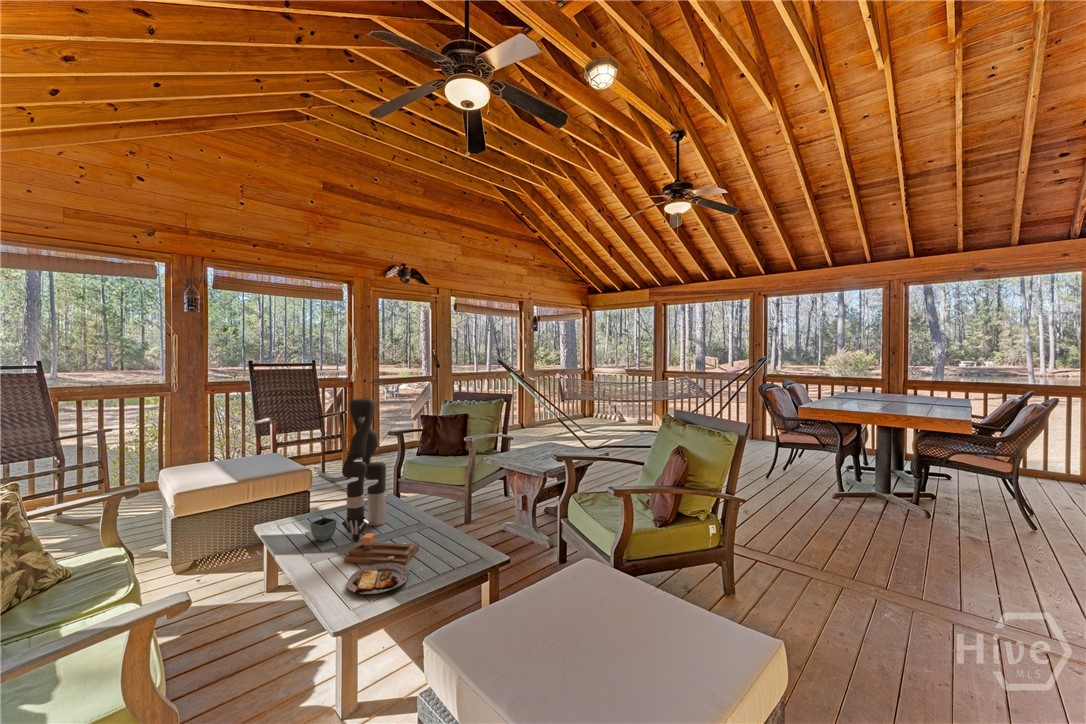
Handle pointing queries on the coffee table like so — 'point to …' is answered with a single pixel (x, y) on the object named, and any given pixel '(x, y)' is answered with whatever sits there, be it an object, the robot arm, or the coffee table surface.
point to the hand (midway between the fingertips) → (356, 541)
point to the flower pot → (323, 528)
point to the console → (382, 553)
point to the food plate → (369, 582)
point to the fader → (368, 541)
